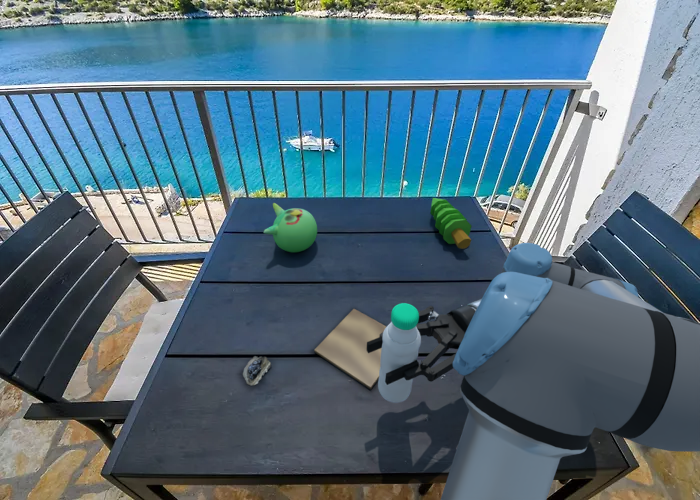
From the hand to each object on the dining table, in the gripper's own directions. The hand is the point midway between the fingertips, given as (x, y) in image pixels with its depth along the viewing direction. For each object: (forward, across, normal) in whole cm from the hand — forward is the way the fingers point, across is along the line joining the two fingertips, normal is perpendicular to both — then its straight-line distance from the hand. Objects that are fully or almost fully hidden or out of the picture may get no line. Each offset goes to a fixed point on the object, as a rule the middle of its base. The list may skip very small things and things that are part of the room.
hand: (376, 362), depth 65 cm
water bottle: (-5, 0, -13) cm, 14 cm away
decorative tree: (-61, +52, -22) cm, 83 cm away
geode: (+21, +23, -22) cm, 38 cm away
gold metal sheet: (-7, +18, -22) cm, 29 cm away
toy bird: (-4, +69, -22) cm, 72 cm away
